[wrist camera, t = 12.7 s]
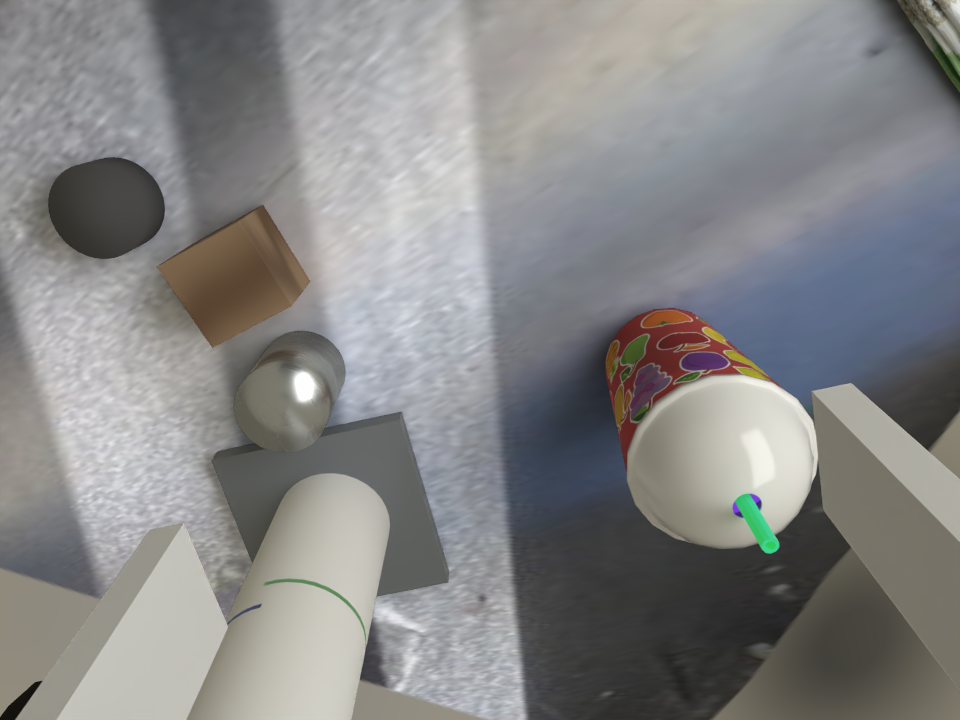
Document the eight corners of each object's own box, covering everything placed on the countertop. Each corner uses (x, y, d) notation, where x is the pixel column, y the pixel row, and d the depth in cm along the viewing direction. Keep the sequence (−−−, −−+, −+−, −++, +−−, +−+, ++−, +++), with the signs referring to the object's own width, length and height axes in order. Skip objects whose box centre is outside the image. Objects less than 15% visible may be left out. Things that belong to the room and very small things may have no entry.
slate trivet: (217, 451, 50) (211, 460, 49) (401, 411, 49) (399, 419, 48) (278, 605, 54) (273, 616, 53) (449, 571, 53) (448, 582, 52)
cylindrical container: (255, 504, 50) (54, 892, 27) (350, 454, 49) (226, 815, 26) (318, 587, 52) (183, 1012, 29) (411, 541, 51) (348, 947, 28)
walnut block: (190, 245, 46) (157, 266, 41) (263, 204, 45) (237, 221, 40) (239, 318, 47) (212, 347, 43) (310, 280, 47) (291, 305, 42)
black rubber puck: (60, 169, 44) (32, 177, 42) (145, 147, 44) (122, 153, 41) (97, 255, 46) (72, 268, 43) (178, 235, 46) (158, 246, 43)
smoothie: (672, 442, 50) (784, 672, 31) (561, 375, 48) (610, 575, 30) (757, 335, 47) (935, 515, 29) (644, 261, 46) (754, 401, 27)
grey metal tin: (251, 340, 48) (220, 378, 42) (331, 322, 47) (311, 358, 42) (278, 415, 49) (251, 460, 44) (355, 398, 49) (339, 442, 43)
